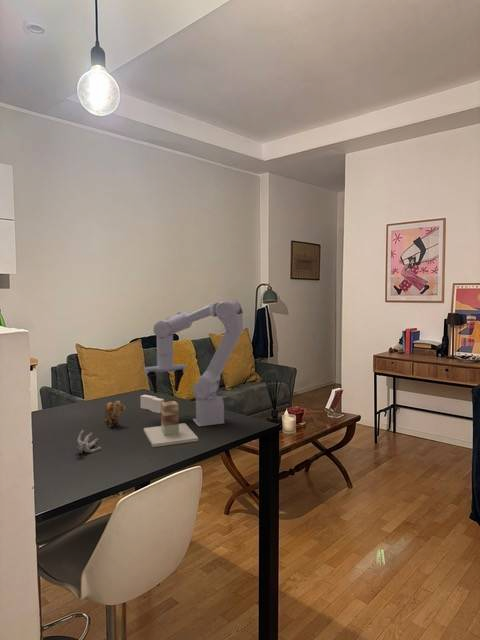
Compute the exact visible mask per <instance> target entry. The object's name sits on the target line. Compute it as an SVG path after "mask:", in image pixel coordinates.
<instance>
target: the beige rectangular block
mask: <svg viewBox="0 0 480 640" xmlns="http://www.w3.org/2000/svg"><path fill="white" fill-rule="evenodd" d="M161 402H165V399H164V398H159V397H158V396H154V395H153V396H152V395H148V394H143V395H140V409H144V410H147V409H148V410H149V411H150V412H151V411H152V413H157V414H161Z"/></svg>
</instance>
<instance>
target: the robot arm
mask: <svg viewBox="0 0 480 640" xmlns="http://www.w3.org/2000/svg"><path fill="white" fill-rule="evenodd" d="M243 314H244V311H243V308H242V306H241V304H240V303H239V302H238V300H235V299H229V300H220V301H219V302H214V303H210V304H208V305H206V306H205V305H204V307H201V308H199V309H196V310H194V311H193V312H190V313H187V312H185V311H183V312H182V311H179V312H177V313H176V315H173V316H172V317H169V316H168V317H165V320H158V321H156V323H155V324H154V325H153V333H154V335H155V336H156V362H157V363H156V365H153V366H145V367H144V373H145V374H146V375H147V376H148V378H149V380H150V382H151V386H152V391H153V393H154V394H157V393H158V390H157V389H158V387H157V377H158V376H157V375H156V374H157V373H166V372H167V373H169V372H173V375H174V391H175V392H178V391H179V387H180V383H181V380H182V378H183V376H184V374H185V372H184V371H187V369H186V368H187V365H186V364H174V334H177V333H179V332H181V331H184V330H186V329H190V328H191V326H192V324H193V323H194V322H197V321H200V320H202V319H205V318H208V317H214V318H215V317H217V318H218V319H219V321H220V322H221V324H223V326H224V329H225V332H224V335H223V336H222V339H221V341H220V343H218V346H217V348H216V350H215V352H214V354H213V356H212V357H211V360H210V363H209V365H208V366H207V367H206V370H205V371H204V372H203V374H202V375H201V376H200V378H199V380H198V381H196V382H195V383H194V384H193V386H192V393H193V394H194V396H195V418H192V421H193V422H194V423H195V424H196V425H197V426H198V427H206V426H213V425H222V424H225V404H224V403H225V402H224V398H223V397H222V396H221V395H220V396H218V395H217V392H218V390H219V386H220V380H221V374H222V372H223V371H224V368H225V366H226V364H227V363H228V361H229V359H230V357H231V355H232V353H233V351H234V349H235V348H236V345H237V344H238V341H239V339H240V337H241V335H242V334H243V331H244V327H243V325H244V324H243Z"/></svg>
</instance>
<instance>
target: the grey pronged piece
mask: <svg viewBox="0 0 480 640" xmlns="http://www.w3.org/2000/svg"><path fill="white" fill-rule="evenodd" d="M84 431H85V429H82V430H81V431H80V432H79V434H78V437H77V446H76V447H75V449H77V450H79V452H80V453H81V454H82V453H83V451H84V452H85V453H89V454H92V453H96V452H98V451H99V450H101V449H102V447H101V446H98V447H96V448H93V446H95V445H96V443H97V442H98V441H99V438H98V437H97V438H95V439H94V440H92V441H91V442H89V440H90V437H92V435H93V432H90V433H88V434H87V435H86V436H85V437H84V440H83V441H82V440H81V439H82V435H83V434H84ZM91 448H93V449H91Z"/></svg>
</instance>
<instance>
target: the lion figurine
mask: <svg viewBox="0 0 480 640" xmlns="http://www.w3.org/2000/svg"><path fill="white" fill-rule="evenodd" d="M126 408H127V407H126V406H125V405H124V404H123V403H122V402H121V401H120V400H116V401H113V402H112V401H109V402H107V403H106V405H105V415H104V417H105V420H104V421H103V422H104V423H107V422H109V423H108V427H110V428H112V427H113V425H114V424H113V420H114V419H115V421H114V422H115V425H116V426H120V424H121V422H119V418H120V415H122V413H124V412H125V410H126ZM112 419H113V420H112Z"/></svg>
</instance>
